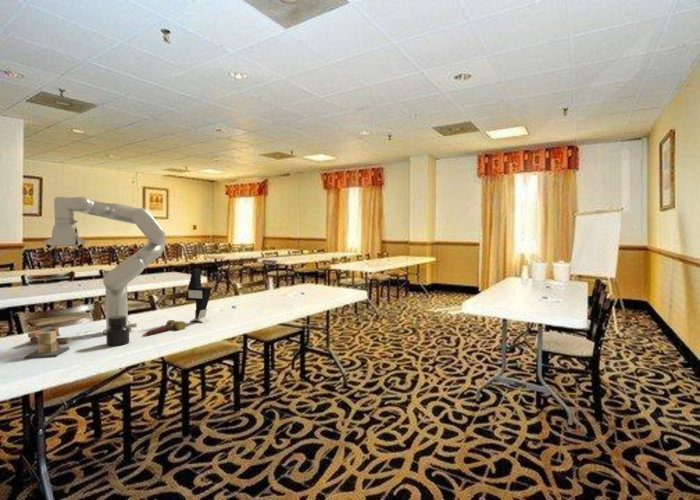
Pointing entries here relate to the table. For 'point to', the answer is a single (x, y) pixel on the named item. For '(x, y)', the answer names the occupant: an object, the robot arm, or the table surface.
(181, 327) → the gavel
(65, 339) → the cradle
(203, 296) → the award
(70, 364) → the table surface
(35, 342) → the lever base
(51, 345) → the block
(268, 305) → the table surface
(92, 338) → the table surface
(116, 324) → the ink bottle
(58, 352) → the mat
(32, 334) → the cutter lever
